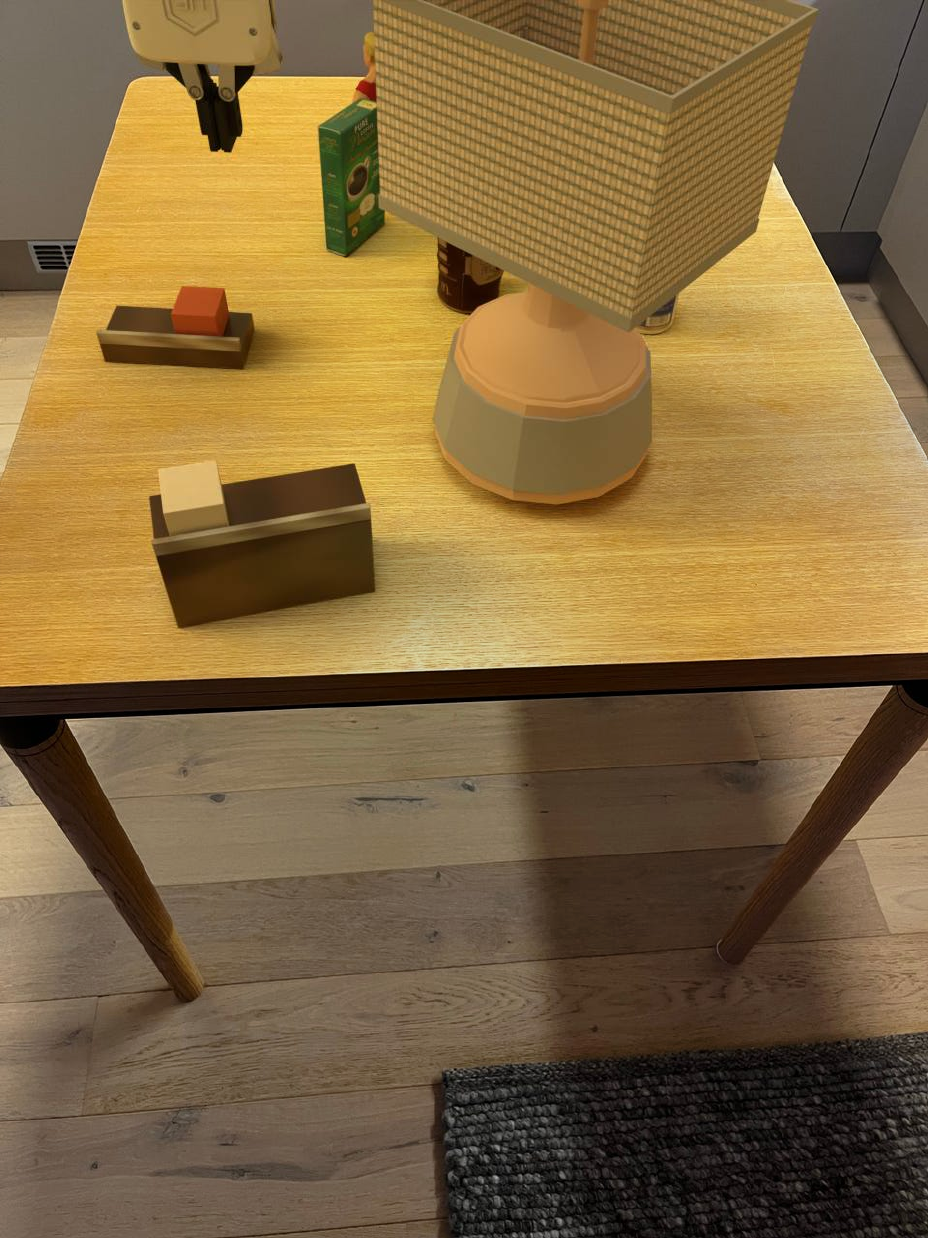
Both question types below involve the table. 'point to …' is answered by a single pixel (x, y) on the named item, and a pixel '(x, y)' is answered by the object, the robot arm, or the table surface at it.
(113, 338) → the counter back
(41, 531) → the table surface
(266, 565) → the counter front
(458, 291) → the coffee cup
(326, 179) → the coffee box
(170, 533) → the tan block
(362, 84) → the action figure
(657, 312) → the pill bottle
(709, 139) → the desk lamp
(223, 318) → the red cube block
